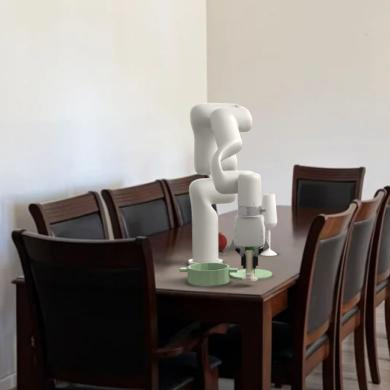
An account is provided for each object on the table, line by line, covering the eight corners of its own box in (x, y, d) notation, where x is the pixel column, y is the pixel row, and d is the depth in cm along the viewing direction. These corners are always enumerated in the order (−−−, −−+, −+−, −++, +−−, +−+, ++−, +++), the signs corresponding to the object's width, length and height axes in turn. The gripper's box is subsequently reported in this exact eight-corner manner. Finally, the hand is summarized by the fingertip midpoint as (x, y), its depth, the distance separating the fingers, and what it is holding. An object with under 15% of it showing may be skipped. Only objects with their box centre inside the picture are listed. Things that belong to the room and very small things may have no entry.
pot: (184, 278, 265) (183, 262, 265) (239, 278, 265) (239, 262, 265) (176, 287, 252) (176, 270, 251) (234, 287, 252) (234, 270, 252)
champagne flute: (258, 253, 312) (258, 193, 310) (274, 252, 315) (274, 192, 312) (262, 256, 306) (262, 195, 304) (279, 255, 309) (279, 194, 306)
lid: (232, 272, 276) (232, 254, 275) (273, 272, 276) (273, 255, 275) (227, 281, 262) (227, 262, 261) (270, 281, 262) (270, 263, 261)
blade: (243, 277, 257) (243, 248, 256) (258, 277, 257) (258, 248, 256) (240, 282, 248) (240, 253, 247) (256, 282, 248) (256, 253, 247)
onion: (226, 252, 313) (226, 232, 312) (212, 252, 312) (212, 232, 311) (227, 250, 318) (227, 230, 318) (213, 250, 318) (213, 230, 317)
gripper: (275, 210, 254) (275, 266, 256) (225, 209, 254) (225, 265, 256) (274, 213, 247) (274, 270, 248) (222, 212, 246) (222, 270, 248)
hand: (249, 267), depth 252 cm, fingers closed on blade, 2 cm apart
